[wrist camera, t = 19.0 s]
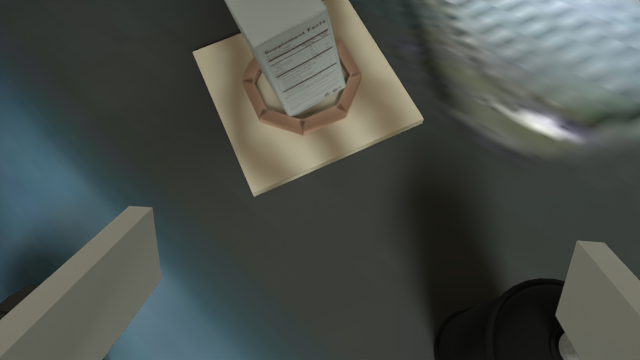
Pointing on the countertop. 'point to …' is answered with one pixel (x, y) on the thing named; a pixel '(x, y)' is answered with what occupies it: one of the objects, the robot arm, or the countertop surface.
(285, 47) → the supplement box
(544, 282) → the aerosol can
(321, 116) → the collar board
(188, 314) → the countertop surface
